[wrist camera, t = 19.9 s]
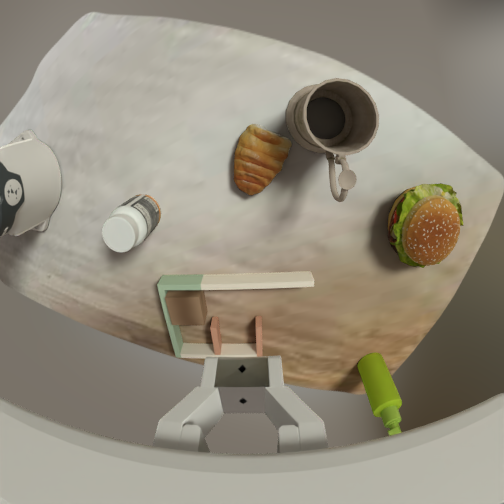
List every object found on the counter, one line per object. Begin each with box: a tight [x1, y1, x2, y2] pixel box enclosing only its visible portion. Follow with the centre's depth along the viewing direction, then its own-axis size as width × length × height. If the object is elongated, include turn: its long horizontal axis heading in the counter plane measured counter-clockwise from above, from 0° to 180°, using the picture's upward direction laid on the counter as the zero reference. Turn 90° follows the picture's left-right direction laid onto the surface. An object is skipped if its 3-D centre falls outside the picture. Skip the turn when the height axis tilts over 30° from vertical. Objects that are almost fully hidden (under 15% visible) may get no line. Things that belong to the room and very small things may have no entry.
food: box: [388, 183, 463, 268], centre depth 37 cm, size 14×14×8 cm
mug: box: [286, 78, 379, 202], centre depth 30 cm, size 14×10×12 cm
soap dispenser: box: [357, 353, 402, 436], centre depth 45 cm, size 6×7×20 cm
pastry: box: [234, 124, 292, 195], centre depth 36 cm, size 9×7×4 cm
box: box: [157, 271, 314, 358], centre depth 47 cm, size 24×16×3 cm, turn 92°
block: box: [165, 290, 207, 325], centre depth 45 cm, size 6×6×4 cm
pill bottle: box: [102, 194, 161, 252], centre depth 36 cm, size 6×6×10 cm
